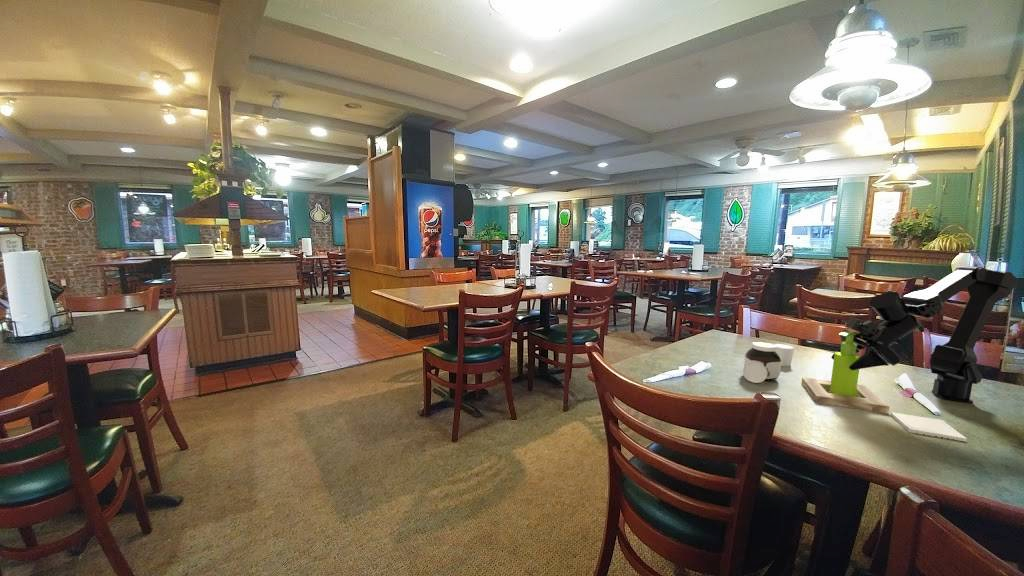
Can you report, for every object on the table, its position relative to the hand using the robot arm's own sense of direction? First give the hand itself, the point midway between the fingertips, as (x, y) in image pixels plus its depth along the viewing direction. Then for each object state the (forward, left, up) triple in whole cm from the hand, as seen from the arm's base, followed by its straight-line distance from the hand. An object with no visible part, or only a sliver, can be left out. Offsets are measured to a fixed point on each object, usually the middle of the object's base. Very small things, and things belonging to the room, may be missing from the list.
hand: (841, 363), depth 113 cm
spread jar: (+19, -6, -11) cm, 23 cm away
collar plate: (-1, 0, -10) cm, 10 cm away
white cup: (+9, -28, -11) cm, 31 cm away
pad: (-14, +14, -10) cm, 22 cm away
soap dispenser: (-1, 0, -11) cm, 11 cm away
